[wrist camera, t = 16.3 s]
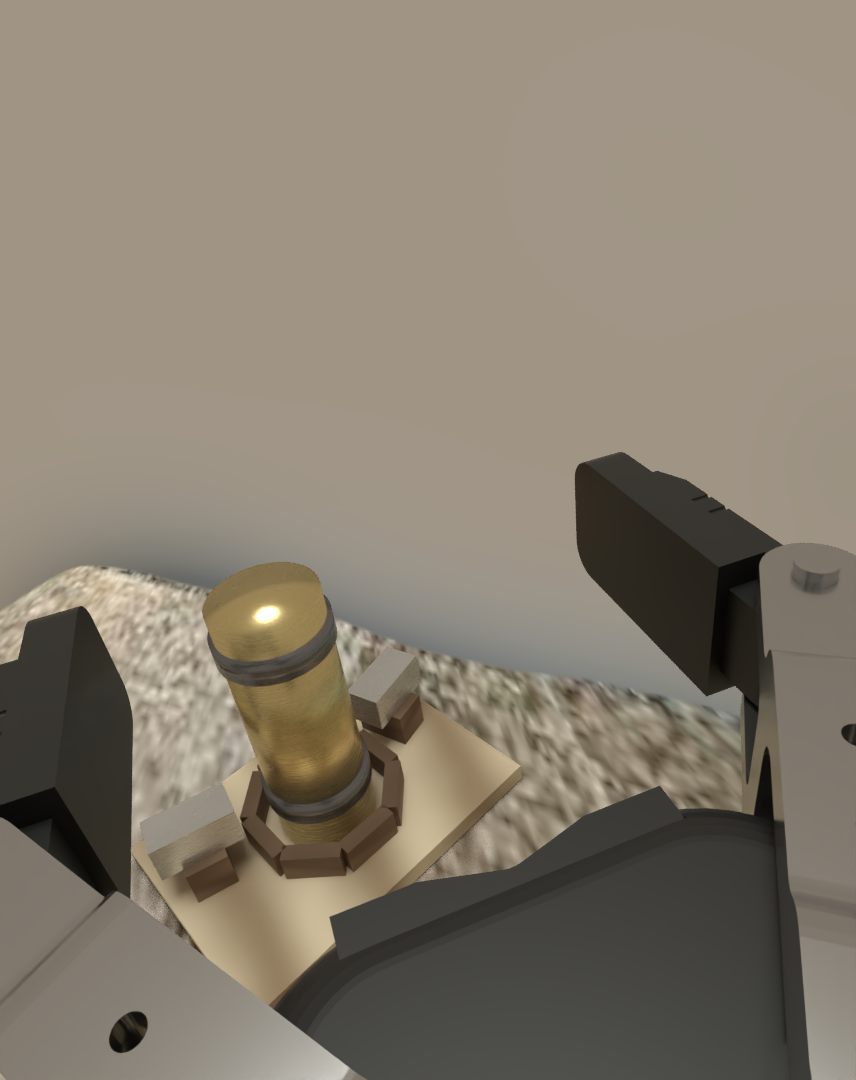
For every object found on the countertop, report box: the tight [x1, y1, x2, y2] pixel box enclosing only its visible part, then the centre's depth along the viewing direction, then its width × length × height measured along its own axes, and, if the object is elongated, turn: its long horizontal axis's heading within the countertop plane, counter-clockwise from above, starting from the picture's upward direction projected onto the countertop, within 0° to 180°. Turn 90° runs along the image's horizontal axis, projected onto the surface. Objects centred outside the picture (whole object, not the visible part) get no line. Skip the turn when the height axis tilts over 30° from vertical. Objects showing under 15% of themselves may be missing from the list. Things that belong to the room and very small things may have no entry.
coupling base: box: [131, 693, 522, 1009], centre depth 38 cm, size 17×12×3 cm
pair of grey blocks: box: [140, 647, 421, 881], centre depth 38 cm, size 16×3×2 cm, turn 134°
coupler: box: [202, 562, 376, 844], centre depth 35 cm, size 5×5×14 cm
